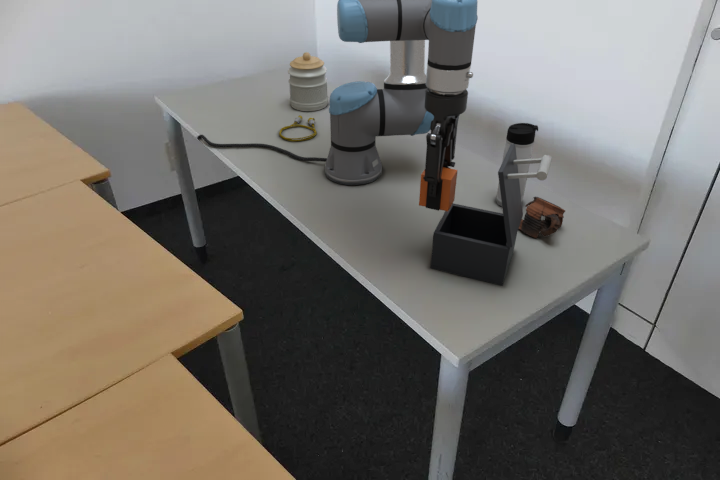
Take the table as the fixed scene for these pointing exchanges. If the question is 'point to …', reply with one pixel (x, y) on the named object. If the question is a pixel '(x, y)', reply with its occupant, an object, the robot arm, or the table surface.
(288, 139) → the extension cord
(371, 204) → the table surface
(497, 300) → the table surface
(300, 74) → the jar
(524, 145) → the travel mug
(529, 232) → the pottery mug
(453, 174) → the orange block
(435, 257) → the open box
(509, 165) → the hinged box lid
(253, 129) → the table surface
